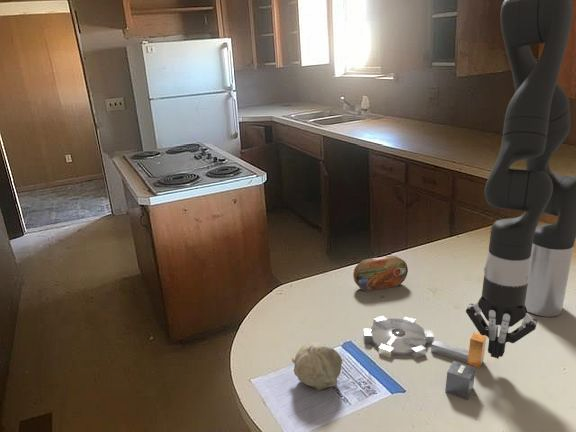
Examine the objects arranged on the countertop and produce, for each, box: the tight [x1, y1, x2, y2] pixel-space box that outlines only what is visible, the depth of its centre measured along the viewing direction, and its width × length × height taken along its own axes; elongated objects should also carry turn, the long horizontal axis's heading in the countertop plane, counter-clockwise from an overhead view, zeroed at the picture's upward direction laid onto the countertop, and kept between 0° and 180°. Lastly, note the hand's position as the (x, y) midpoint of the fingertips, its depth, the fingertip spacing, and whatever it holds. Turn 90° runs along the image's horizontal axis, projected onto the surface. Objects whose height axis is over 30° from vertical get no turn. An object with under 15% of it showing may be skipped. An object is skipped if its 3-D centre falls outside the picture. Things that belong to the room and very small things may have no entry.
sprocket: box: [363, 315, 435, 359], centre depth 107 cm, size 15×14×2 cm
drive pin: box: [430, 332, 487, 369], centre depth 99 cm, size 3×10×6 cm, turn 56°
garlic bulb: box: [291, 341, 343, 391], centre depth 93 cm, size 9×8×10 cm
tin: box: [352, 255, 409, 292], centre depth 131 cm, size 15×3×8 cm, turn 105°
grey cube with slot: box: [444, 360, 476, 401], centre depth 90 cm, size 4×4×5 cm
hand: (495, 355), depth 96 cm, fingers closed
